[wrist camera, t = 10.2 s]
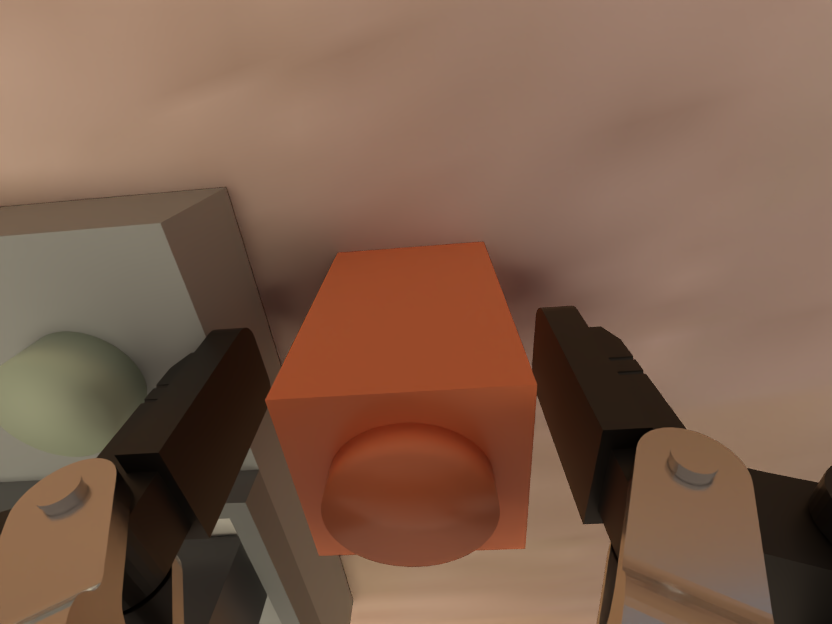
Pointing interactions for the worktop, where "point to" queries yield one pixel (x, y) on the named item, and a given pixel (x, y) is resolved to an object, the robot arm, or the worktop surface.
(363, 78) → the worktop surface
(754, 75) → the worktop surface
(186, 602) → the breaker
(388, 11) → the worktop surface
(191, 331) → the breaker panel
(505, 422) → the cap
